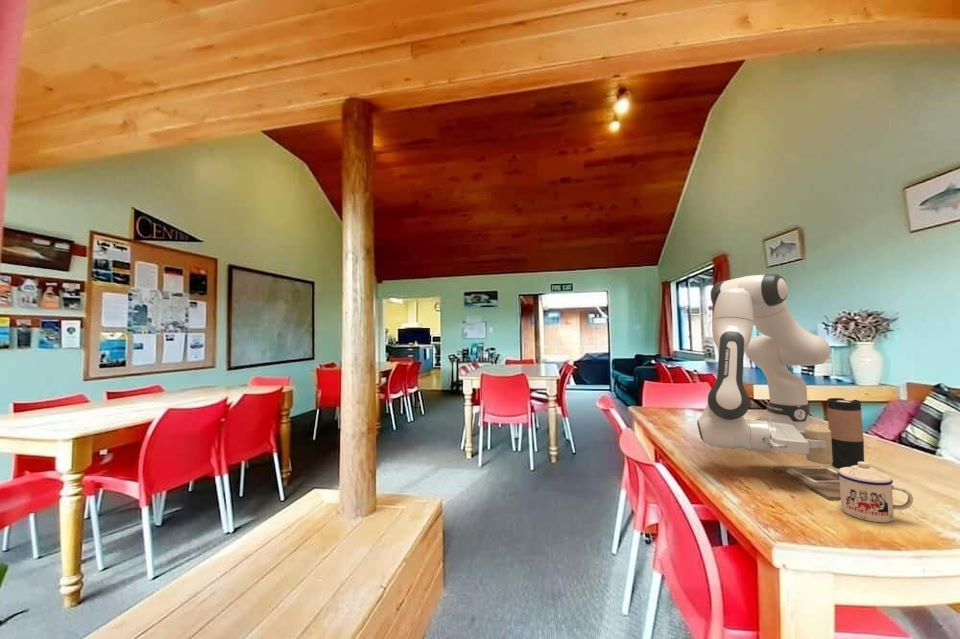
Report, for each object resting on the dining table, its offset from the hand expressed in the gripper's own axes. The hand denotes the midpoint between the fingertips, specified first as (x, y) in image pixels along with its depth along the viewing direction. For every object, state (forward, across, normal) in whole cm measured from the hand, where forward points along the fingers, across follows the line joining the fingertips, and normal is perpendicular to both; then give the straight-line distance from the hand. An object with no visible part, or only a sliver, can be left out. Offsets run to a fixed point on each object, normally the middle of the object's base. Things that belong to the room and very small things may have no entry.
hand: (822, 440), depth 110 cm
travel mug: (+9, +16, +11) cm, 22 cm away
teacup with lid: (+5, -19, +12) cm, 23 cm away
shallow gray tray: (-1, 0, +11) cm, 11 cm away
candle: (-1, 0, +6) cm, 6 cm away
